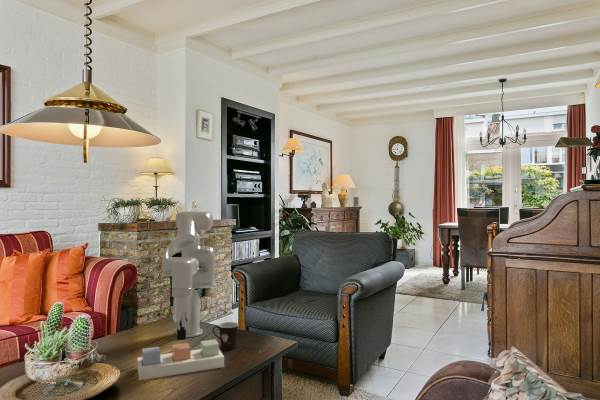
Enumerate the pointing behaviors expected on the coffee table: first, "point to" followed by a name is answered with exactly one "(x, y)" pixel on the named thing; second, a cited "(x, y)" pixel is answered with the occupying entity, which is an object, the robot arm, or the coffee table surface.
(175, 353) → the terracotta button
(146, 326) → the coffee table surface
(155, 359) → the slate button
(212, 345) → the sage button
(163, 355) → the button panel
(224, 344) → the coffee mug
